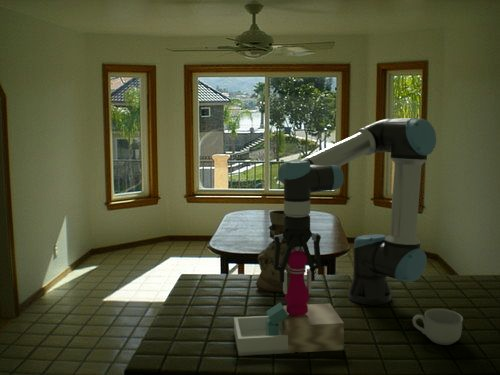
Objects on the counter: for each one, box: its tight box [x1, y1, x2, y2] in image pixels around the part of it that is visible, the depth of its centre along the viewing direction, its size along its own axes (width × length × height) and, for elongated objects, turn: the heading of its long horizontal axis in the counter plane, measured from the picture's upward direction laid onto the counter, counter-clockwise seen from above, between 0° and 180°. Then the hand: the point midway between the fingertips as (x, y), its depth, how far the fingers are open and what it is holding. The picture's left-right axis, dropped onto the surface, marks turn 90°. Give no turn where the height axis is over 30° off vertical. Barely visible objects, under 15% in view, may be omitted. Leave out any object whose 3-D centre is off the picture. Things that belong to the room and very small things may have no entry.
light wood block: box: [280, 302, 345, 354], centre depth 163 cm, size 16×16×8 cm
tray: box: [233, 315, 289, 357], centre depth 161 cm, size 14×16×5 cm
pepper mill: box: [284, 246, 310, 315], centre depth 160 cm, size 7×7×20 cm
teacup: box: [412, 308, 464, 346], centre depth 161 cm, size 14×11×8 cm
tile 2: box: [266, 302, 288, 326], centre depth 161 cm, size 5×5×3 cm
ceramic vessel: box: [255, 209, 307, 294], centre depth 208 cm, size 19×21×30 cm
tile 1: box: [266, 319, 279, 336], centre depth 162 cm, size 5×5×3 cm
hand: (297, 291), depth 161 cm, fingers closed on pepper mill, 6 cm apart
